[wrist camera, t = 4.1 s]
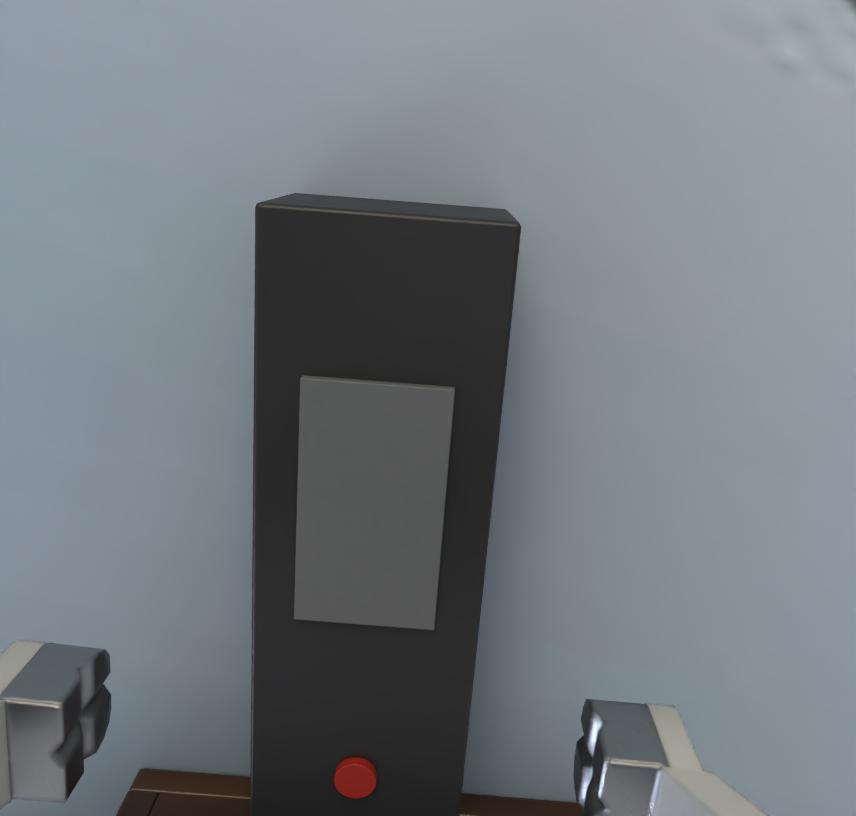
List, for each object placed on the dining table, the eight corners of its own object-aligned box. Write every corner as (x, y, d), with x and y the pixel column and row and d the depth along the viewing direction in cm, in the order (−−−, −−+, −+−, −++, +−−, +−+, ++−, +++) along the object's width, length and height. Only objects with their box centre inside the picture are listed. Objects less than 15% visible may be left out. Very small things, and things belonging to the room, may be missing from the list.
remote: (291, 192, 17) (251, 203, 14) (508, 209, 17) (523, 223, 14) (279, 740, 21) (246, 855, 18) (453, 754, 21) (454, 871, 18)
